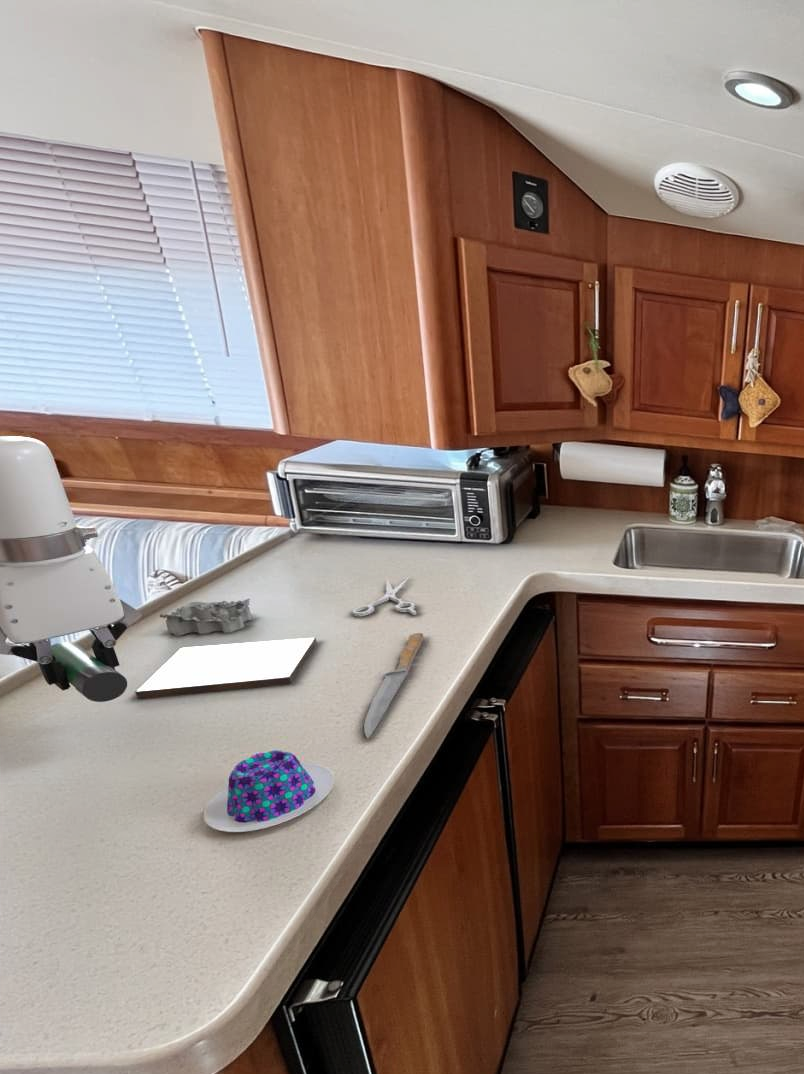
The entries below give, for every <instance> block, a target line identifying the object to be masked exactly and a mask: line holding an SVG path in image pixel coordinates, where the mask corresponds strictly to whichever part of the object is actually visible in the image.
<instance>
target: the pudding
mask: <svg viewBox="0 0 804 1074" xmlns="http://www.w3.org/2000/svg"><path fill="white" fill-rule="evenodd" d="M334 785H335V775H334V773H333V771H332V770H330V769H329V768H327V767H326V766H324V765H321V764H317V763H310V762H300V760H299V759H298V758H297V756H296V755H295V754H294V753H292V752H290V751H282V750H276V749H274V750H270V751H267V752H259V753H256V754H253V755H251V756H250V757H249V758H247V759H244V760H241V761H240V762H238V763H237V764H236V765H235V766H234V768H233V770H231V772H230V774H229V777H228V785H227V786H226V787H225V788H223V789H221V791H219V792H217V794H216V795H214V797H212V798H211V799H210V801H209V802H208V803H207V805H206V807H205V808H204V811H203V820H204V822H205V824H206V825H207V826H209V828H211V829H213V830H216V831H220V832H227V833H243V832H254V831H257V830H262V829H267V828H270V827H273V826H276V825H279V824H282V823H285V822H287V821H288V822H289V820H292V819H295V818H296V817H299V816H301V815H303V814H304V813H306V812H308V811H309V810H311V809H313V808H314V807H315V806H317V805H318V804H319V803H320V802H322V801H323V800H324V799H325V798H326V797H327V796H328V795H329V794H330V792H331V790H332V789H333V787H334Z"/></svg>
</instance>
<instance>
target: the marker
mask: <svg viewBox="0 0 804 1074" xmlns="http://www.w3.org/2000/svg"><path fill="white" fill-rule="evenodd" d="M51 649H52V654H53V655H54V656H55V658H57V659H58V660H59V661H60V662H61V663H62V666H63V669H64V671H65V674H66V676H67V680H68V682H69V684H70V685H72V687H74V689H75V690H76V691H77V692H78V693H80V694H81V695H82V696H84V697H85V698H86V699H87V700H89V701H92V702H95V703H106V702H111V701H113V700H116V699H117V698H119V697H121V696H122V695H123V694H124V693H125V691H126V690H127V687H128V679H127V678H126V677H125V676H124V675H123V674H121V673H120V672H119V671H117V670H116V669H115V670H114V669H113V668H111V667H109V666H106V665H104V664H103V663H102V662H100V661H99V660H98V659H96V657H95V656H93V655H92V654H91V653H90V652H88V651H87V650H85V649H84V648H83V647H82V646H80V645H79V644H77V643H74V642H69V641H63V642H57V643H54V644H51Z"/></svg>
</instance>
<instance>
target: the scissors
mask: <svg viewBox="0 0 804 1074" xmlns="http://www.w3.org/2000/svg"><path fill="white" fill-rule="evenodd" d="M408 579H409V577H407V578H405V579H404V580H403V581H402V582H400V583H399V584H398V585H396V586H395V587H394V588H393V587H392V585H391V583H390V581H389V579H388V578H386V587H385V589H386V590H385V591H386V592H385V594H384V595H383V596H382V597H380V598H379V599H376V600H373V601H372V602H371V603H369V604H365V605H359V606H358V607H355V608H353V610H352V615H354V616H355V617H364V616H368V615H370V614H373V612H375V606H378V605H380V604H382V603H385V602H388V601H393V602H395V603H397V604H396V605H394V608H395V610H396V611H397V612H401V613H410V614H411V615H412V616H416V615H417V610H415V609H416V606H415V603H414V602H411V601H405V600H403V599H402V598H398V597H397V596H396V594H397V593H398V592H399V591H400V589H402V588H403V586H404V585H405V583H407V581H408Z"/></svg>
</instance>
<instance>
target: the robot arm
mask: <svg viewBox="0 0 804 1074" xmlns="http://www.w3.org/2000/svg"><path fill="white" fill-rule="evenodd" d="M98 537H99V534H98V531H97V529H96V528H95V527H94V526H89V527H85V526H79V525H78V524H77V522H76V519H75V515H74V513H73V510H72V507H71V505H70V501H69V499H68V496H67V492H66V490H65V487H64V484H63V481H62V478H61V476H60V473H59V471H58V468H57V464H56V461H55V458H54V456H53V454H52V452H51V450H50V448H49V447H48V446H47V445H46V443H45V442H43V441H41V440H39V439H36V438H32V437H26V436H16V435H0V655H4V656H15V657H18V658H21V659H24V660H29V661H33V662H37V664H38V666H39V669H40V671H41V673H42V676H43V678H44V680H45V682H46V683H47V684H48V685H49V686H50V685H51V686H52V685H56V687H58V688H59V689H60V690H61V691H66V690H69V689H70V688H71V684H70V683H69V682H68V680H67V676H66V674H65V671H64V669H63V666H62V663H61V662H60V661H59V660H58V659H57V658H55V656H54V655H53V654H52V649H51V646H52V643H51V642H52V641H51V640H52V639H55V638H59V637H64V636H68V635H73V634H76V633H81V632H86V631H89V633H90V634H91V635H92V637H93V638H94V639H93V642H92V643H91V644H92V645H91V650H92V652H93V655H94V657H95V658H96V659H98V660H99V661H100V662H102V663H103V664H104V665H106V666H109V667H111V668H113V669H114V670H116V667H120V662H119V659H118V656H117V653H116V650H115V646H116V645H117V641H118V640H119V638H120V637H121V636H122V635H123V634H124V633H125V632H126V631H127V628H128V627H131V626H132V625H133V624H135V623H136V622H137V621H139V620H140V619H142V617H143V613H142V612H140V611H139V610H137V609H136V608H134V607H133V606H131V605H130V604H128V603H127V602H125V601H124V600H122V599H121V598H120V596H119V595H118V592H117V590H116V588H115V585H114V584H113V582H112V579H111V577H110V576H109V574H108V572H107V570H106V568H105V566H104V564H103V563H102V561H101V560H100V558H99V555H97V553H96V552H95V550H94V549H93V548H92V547H91V546H89V545H86V543H87V541H88V540H91V539H94V538H98ZM7 639H8V641H10V642H8V641H7ZM27 644H28V645H27Z"/></svg>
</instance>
